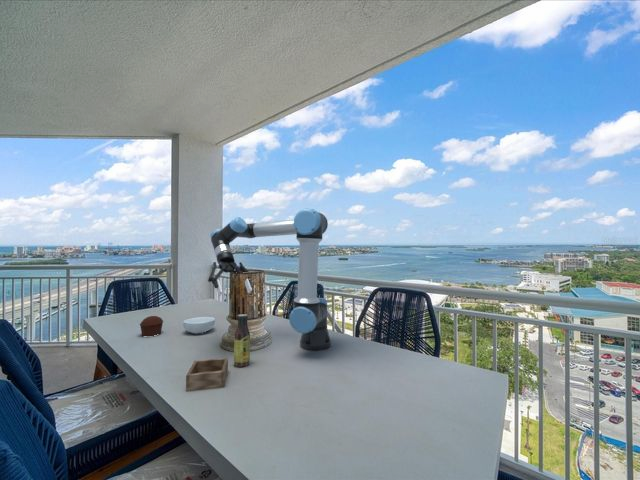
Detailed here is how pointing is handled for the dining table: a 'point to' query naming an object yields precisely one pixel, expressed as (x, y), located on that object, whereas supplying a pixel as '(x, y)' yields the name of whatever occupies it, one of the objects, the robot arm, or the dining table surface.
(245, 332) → the sauce bottle
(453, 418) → the dining table surface
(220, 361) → the wooden open tray
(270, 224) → the robot arm
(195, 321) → the cereal bowl
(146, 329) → the muffin
